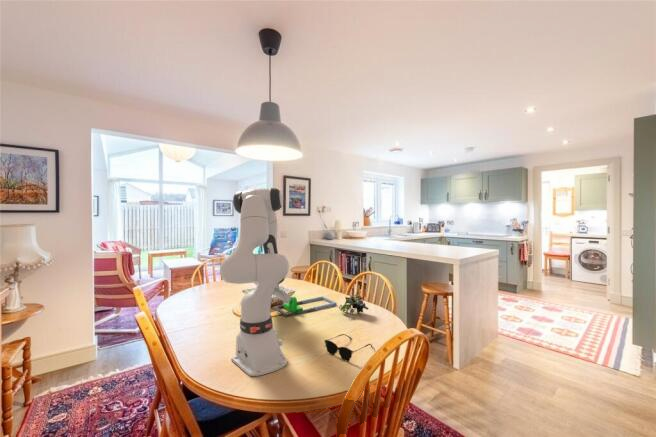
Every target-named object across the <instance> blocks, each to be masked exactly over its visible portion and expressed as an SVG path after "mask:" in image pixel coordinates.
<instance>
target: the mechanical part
mask: <svg viewBox="0 0 656 437" xmlns="http://www.w3.org/2000/svg"><path fill="white" fill-rule="evenodd" d="M290 297H291V299H290V301H289V302H288V303H286V302H284V303H283V304H282V305H283V307H284V309H286V310H287V311H289V313H292V312H297V311H301V310H304V308H303V307H301V306H300V305H299V304H298V305H297V302H298V301H297V300H298V299H297V297H296V296H290Z"/></svg>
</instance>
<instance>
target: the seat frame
mask: <svg viewBox="0 0 656 437" xmlns="http://www.w3.org/2000/svg"><path fill="white" fill-rule="evenodd" d="M301 304H304V303H303V302H302V300H299V301H297V305H298V306H299V305H301ZM282 309H283V304H279V305H275V306H273V310H275V311H276V312H277V311H278V312H277V313H279V312H280V313H281V314H280V313H279V314H280V315H282V316H283V318H288V317H294V316H297V315H302V314H307V313H311V312H314V311H316V310H315V308H313V307H311V308H306V309H303V310H301V311H297V312H288V313H286V312H285V311H284V310H282Z"/></svg>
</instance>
